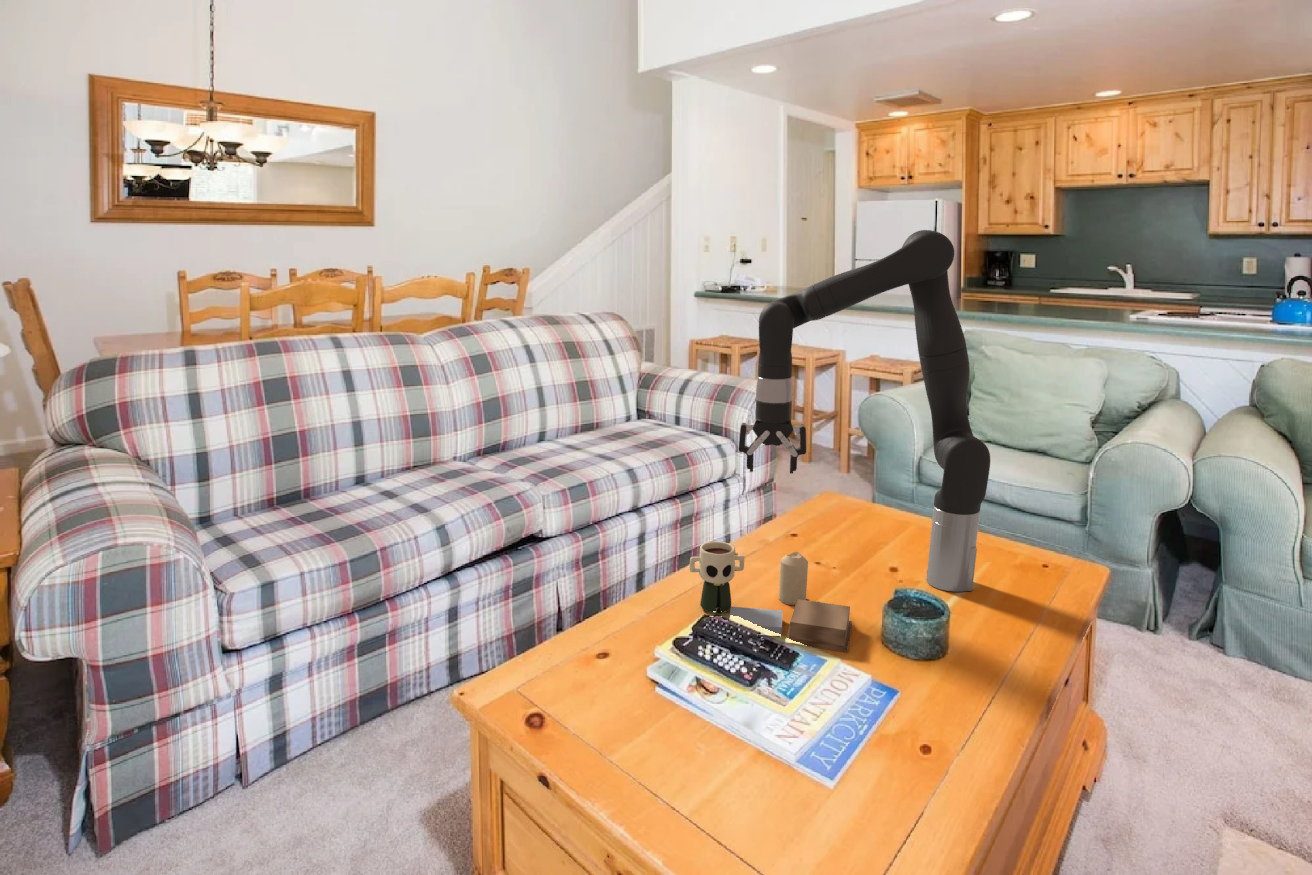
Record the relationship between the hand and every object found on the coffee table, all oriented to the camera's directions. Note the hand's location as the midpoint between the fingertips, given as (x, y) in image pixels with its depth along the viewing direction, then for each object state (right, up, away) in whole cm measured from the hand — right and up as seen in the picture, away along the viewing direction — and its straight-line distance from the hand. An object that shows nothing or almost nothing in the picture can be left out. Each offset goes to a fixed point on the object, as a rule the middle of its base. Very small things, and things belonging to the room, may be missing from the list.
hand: (771, 471), depth 173 cm
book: (-6, -29, -19) cm, 35 cm away
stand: (+6, -30, -22) cm, 37 cm away
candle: (+3, -26, -8) cm, 28 cm away
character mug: (-13, -27, -12) cm, 32 cm away
